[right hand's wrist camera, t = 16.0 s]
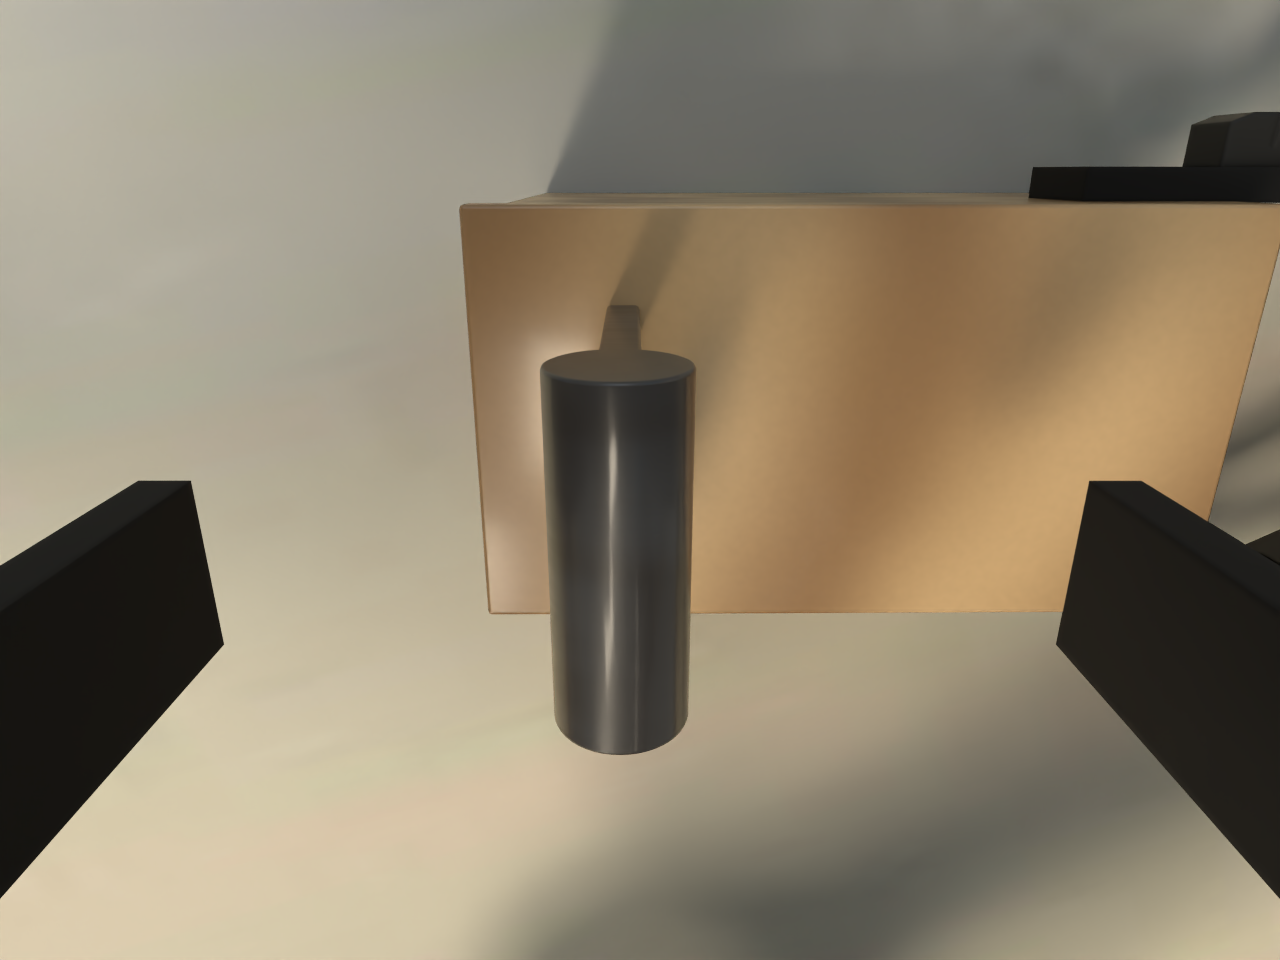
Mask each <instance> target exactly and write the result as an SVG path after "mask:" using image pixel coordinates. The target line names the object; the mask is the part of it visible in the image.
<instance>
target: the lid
mask: <svg viewBox="0 0 1280 960" xmlns="http://www.w3.org/2000/svg"><path fill="white" fill-rule="evenodd" d="M459 213H460V226H461V240H462V254H463V268H464V281H465V295H466V309H467V322H468V336H469V350H470V364H471V377H472V391H473V405H474V419H475V432H476V446H477V460H478V474H479V487H480V501H481V515H482V529H483V542H484V556H485V570H486V584H487V597H488V610H489V613H490V614H550V619H551V642H552V665H553V689H554V712H555V720H556V723H557V725H558V727H559V729H560V730H561V732H562V733H563V734H564V735H565V736H566V737H567V738H568V739H569V740H570V741H572V742H573V743H575V744H577V745H578V746H580V747H583V748H585V749H588V750H591V751H594V752H598V753H603V754H611V755H628V754H637V753H642V752H646V751H650V750H653V749H656V748H658V747H660V746H662V745H664V744H666V743H668V742H669V741H671V740H672V739H673V738H674V737H676V736H677V735H678V733H679V732H680V731H681V730H682V728H683V727H684V725H685V723H686V720H687V717H688V693H689V651H690V613H877V612H1063V608H1064V603H1065V598H1066V593H1067V588H1068V583H1069V578H1070V573H1071V568H1072V563H1073V558H1074V553H1075V549H1076V544H1077V539H1078V534H1079V529H1080V524H1081V519H1082V514H1083V509H1084V504H1085V499H1086V494H1087V489H1088V484H1089V481H1143V482H1144V483H1146V484H1148V485H1149V486H1151V487H1153V488H1154V489H1156V490H1157V491H1159V492H1161V493H1162V494H1164V495H1166V496H1167V497H1169V498H1170V499H1172V500H1174V501H1175V502H1177V503H1179V504H1180V505H1182V506H1183V507H1185V508H1187V509H1188V510H1190V511H1192V512H1193V513H1195V514H1196V515H1198V516H1200V517H1201V518H1203V519H1205V520H1206V521H1208V520H1209V516H1210V512H1211V508H1212V505H1213V501H1214V497H1215V493H1216V489H1217V486H1218V482H1219V478H1220V474H1221V470H1222V466H1223V463H1224V459H1225V455H1226V451H1227V447H1228V443H1229V440H1230V436H1231V432H1232V428H1233V424H1234V421H1235V417H1236V413H1237V409H1238V405H1239V401H1240V398H1241V394H1242V390H1243V386H1244V382H1245V378H1246V375H1247V371H1248V367H1249V363H1250V359H1251V356H1252V352H1253V348H1254V344H1255V340H1256V336H1257V333H1258V329H1259V325H1260V321H1261V317H1262V313H1263V310H1264V306H1265V302H1266V298H1267V294H1268V291H1269V287H1270V283H1271V279H1272V275H1273V271H1274V268H1275V264H1276V260H1277V256H1278V252H1279V248H1280V204H1274V203H468V204H463V205H461V206H460V209H459Z"/></svg>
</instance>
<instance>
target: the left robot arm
mask: <svg viewBox="0 0 1280 960" xmlns="http://www.w3.org/2000/svg"><path fill="white" fill-rule="evenodd" d="M1028 198H1037V199H1052V200H1067V201H1082V202H1098V201H1235V202H1255V203H1280V112H1251V113H1240V114H1230V115H1219V116H1213V117H1210V118H1208V119H1205V120H1203V121H1200V122H1198V123H1195V124H1193V125H1192V126H1191V130H1190V135H1189V140H1188V144H1187V149H1186V153H1185V158H1184V163H1183V167H1033V171H1032V178H1031V184H1030V190H1029V197H1028ZM1246 545H1247V546H1248V547H1250V548H1252V549H1253V550H1255V551H1257V552H1258V553H1260V554H1261V555H1263V556H1265V557H1266V558H1268V559H1270V560H1271V561H1273V562H1274V563H1276V564H1278V565H1279V566H1280V530H1277V531H1275V532H1273V533H1271V534H1268V535H1266V536H1264V537H1262V538H1259V539H1257V540H1255V541H1253V542H1250V543H1248V544H1246Z"/></svg>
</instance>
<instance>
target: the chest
mask: <svg viewBox="0 0 1280 960" xmlns="http://www.w3.org/2000/svg"><path fill="white" fill-rule="evenodd" d="M1028 197H1029V193H545V194H541V195H537V196H533V197H529V198H525V199H521V200H518V201H514V202H510V203H1255V202H1235V201H1098V202H1082V201H1067V200H1052V199H1037V198H1028Z"/></svg>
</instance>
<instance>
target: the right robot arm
mask: <svg viewBox="0 0 1280 960" xmlns="http://www.w3.org/2000/svg"><path fill="white" fill-rule="evenodd" d="M223 645H224V642H223V637H222V632H221V627H220V623H219V618H218V613H217V608H216V603H215V598H214V593H213V588H212V583H211V578H210V573H209V568H208V563H207V558H206V553H205V549H204V544H203V539H202V534H201V529H200V524H199V519H198V514H197V509H196V504H195V499H194V494H193V489H192V484H191V481H137V482H136V483H134V484H132V485H131V486H129V487H127V488H126V489H124V490H123V491H121V492H119V493H118V494H116V495H114V496H113V497H111V498H110V499H108V500H106V501H105V502H103V503H101V504H100V505H98V506H97V507H95V508H93V509H92V510H90V511H88V512H87V513H85V514H84V515H82V516H80V517H79V518H77V519H75V520H74V521H72V522H71V523H69V524H67V525H66V526H64V527H62V528H61V529H59V530H58V531H56V532H54V533H53V534H51V535H49V536H48V537H46V538H45V539H43V540H41V541H40V542H38V543H36V544H35V545H33V546H32V547H30V548H28V549H27V550H25V551H23V552H22V553H20V554H19V555H17V556H15V557H14V558H12V559H10V560H9V561H7V562H6V563H4V564H2V565H1V566H0V898H1V897H2V896H3V895H4V894H5V893H6V891H7V890H8V889H9V888H10V887H11V886H12V885H13V884H14V882H15V881H16V880H17V879H18V878H19V877H20V876H21V874H22V873H23V872H24V871H25V870H26V869H27V868H28V866H29V865H30V864H31V863H32V862H33V861H34V860H35V859H36V857H37V856H38V855H39V854H40V853H41V852H42V851H43V849H44V848H45V847H46V846H47V845H48V844H49V843H50V842H51V840H52V839H53V838H54V837H55V836H56V835H57V834H58V832H59V831H60V830H61V829H62V828H63V827H64V826H65V824H66V823H67V822H68V821H69V820H70V819H71V818H72V817H73V815H74V814H75V813H76V812H77V811H78V810H79V809H80V807H81V806H82V805H83V804H84V803H85V802H86V801H87V799H88V798H89V797H90V796H91V795H92V794H93V793H94V792H95V790H96V789H97V788H98V787H99V786H100V785H101V784H102V782H103V781H104V780H105V779H106V778H107V777H108V776H109V774H110V773H111V772H112V771H113V770H114V769H115V768H116V767H117V765H118V764H119V763H120V762H121V761H122V760H123V759H124V757H125V756H126V755H127V754H128V753H129V752H130V751H131V750H132V748H133V747H134V746H135V745H136V744H137V743H138V742H139V740H140V739H141V738H142V737H143V736H144V735H145V734H146V732H147V731H148V730H149V729H150V728H151V727H152V726H153V725H154V723H155V722H156V721H157V720H158V719H159V718H160V717H161V715H162V714H163V713H164V712H165V711H166V710H167V709H168V707H169V706H170V705H171V704H172V703H173V702H174V701H175V700H176V698H177V697H178V696H179V695H180V694H181V693H182V692H183V690H184V689H185V688H186V687H187V686H188V685H189V684H190V682H191V681H192V680H193V679H194V678H195V677H196V676H197V675H198V673H199V672H200V671H201V670H202V669H203V668H204V667H205V665H206V664H207V663H208V662H209V661H210V660H211V659H212V658H213V656H214V655H215V654H216V653H217V652H218V651H219V650H220V648H221V647H222V646H223ZM1056 645H1057V646H1058V647H1059V648H1060V650H1061V651H1062V652H1063V653H1064V654H1065V655H1066V656H1067V658H1068V659H1069V660H1070V661H1071V662H1072V663H1073V664H1074V665H1075V667H1076V668H1077V669H1078V670H1079V671H1080V672H1081V673H1082V675H1083V676H1084V677H1085V678H1086V679H1087V680H1088V681H1089V682H1090V684H1091V685H1092V686H1093V687H1094V688H1095V689H1096V690H1097V692H1098V693H1099V694H1100V695H1101V696H1102V697H1103V698H1104V700H1105V701H1106V702H1107V703H1108V704H1109V705H1110V706H1111V707H1112V709H1113V710H1114V711H1115V712H1116V713H1117V714H1118V715H1119V717H1120V718H1121V719H1122V720H1123V721H1124V722H1125V723H1126V725H1127V726H1128V727H1129V728H1130V729H1131V730H1132V731H1133V732H1134V734H1135V735H1136V736H1137V737H1138V738H1139V739H1140V740H1141V742H1142V743H1143V744H1144V745H1145V746H1146V747H1147V748H1148V750H1149V751H1150V752H1151V753H1152V754H1153V755H1154V756H1155V757H1156V759H1157V760H1158V761H1159V762H1160V763H1161V764H1162V765H1163V767H1164V768H1165V769H1166V770H1167V771H1168V772H1169V773H1170V774H1171V776H1172V777H1173V778H1174V779H1175V780H1176V781H1177V782H1178V784H1179V785H1180V786H1181V787H1182V788H1183V789H1184V790H1185V792H1186V793H1187V794H1188V795H1189V796H1190V797H1191V798H1192V799H1193V801H1194V802H1195V803H1196V804H1197V805H1198V806H1199V807H1200V809H1201V810H1202V811H1203V812H1204V813H1205V814H1206V815H1207V817H1208V818H1209V819H1210V820H1211V821H1212V822H1213V823H1214V824H1215V826H1216V827H1217V828H1218V829H1219V830H1220V831H1221V832H1222V834H1223V835H1224V836H1225V837H1226V838H1227V839H1228V840H1229V842H1230V843H1231V844H1232V845H1233V846H1234V847H1235V848H1236V849H1237V851H1238V852H1239V853H1240V854H1241V855H1242V856H1243V857H1244V859H1245V860H1246V861H1247V862H1248V863H1249V864H1250V865H1251V866H1252V868H1253V869H1254V870H1255V871H1256V872H1257V873H1258V874H1259V876H1260V877H1261V878H1262V879H1263V880H1264V881H1265V882H1266V884H1267V885H1268V886H1269V887H1270V888H1271V889H1272V890H1273V891H1274V893H1275V894H1276V895H1277V896H1278V897H1279V898H1280V566H1279V565H1278V564H1276V563H1274V562H1273V561H1271V560H1270V559H1268V558H1266V557H1265V556H1263V555H1261V554H1260V553H1258V552H1257V551H1255V550H1253V549H1252V548H1250V547H1248V546H1247V545H1245V544H1244V543H1242V542H1240V541H1239V540H1237V539H1235V538H1234V537H1232V536H1231V535H1229V534H1227V533H1226V532H1224V531H1222V530H1221V529H1219V528H1218V527H1216V526H1214V525H1213V524H1211V523H1209V522H1208V521H1206V520H1205V519H1203V518H1201V517H1200V516H1198V515H1196V514H1195V513H1193V512H1192V511H1190V510H1188V509H1187V508H1185V507H1183V506H1182V505H1180V504H1179V503H1177V502H1175V501H1174V500H1172V499H1170V498H1169V497H1167V496H1166V495H1164V494H1162V493H1161V492H1159V491H1157V490H1156V489H1154V488H1153V487H1151V486H1149V485H1148V484H1146V483H1144V482H1143V481H1089V484H1088V489H1087V494H1086V499H1085V504H1084V509H1083V514H1082V519H1081V524H1080V529H1079V534H1078V539H1077V544H1076V549H1075V553H1074V558H1073V563H1072V568H1071V573H1070V578H1069V583H1068V588H1067V593H1066V598H1065V603H1064V608H1063V613H1062V618H1061V623H1060V627H1059V632H1058V637H1057V642H1056Z"/></svg>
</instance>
